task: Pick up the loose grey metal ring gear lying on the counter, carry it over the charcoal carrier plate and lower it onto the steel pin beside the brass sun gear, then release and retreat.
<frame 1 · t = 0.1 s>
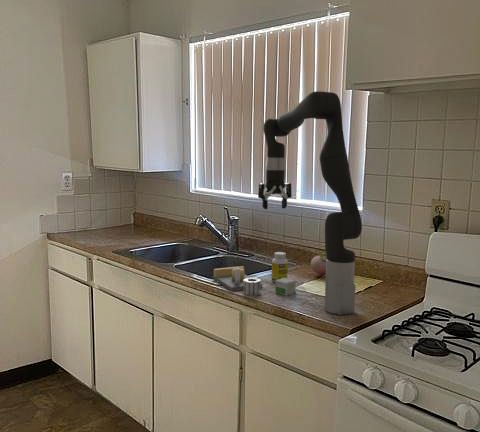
hand: (274, 208, 201), 29 cm above the worktop, fingers open, 8 cm apart
carrier: (237, 283, 196), on the worktop
small box: (285, 293, 185), on the worktop
pill bottle: (279, 281, 201), on the worktop
planet gear: (251, 293, 183), on the worktop
decorative fruit: (320, 276, 209), on the worktop
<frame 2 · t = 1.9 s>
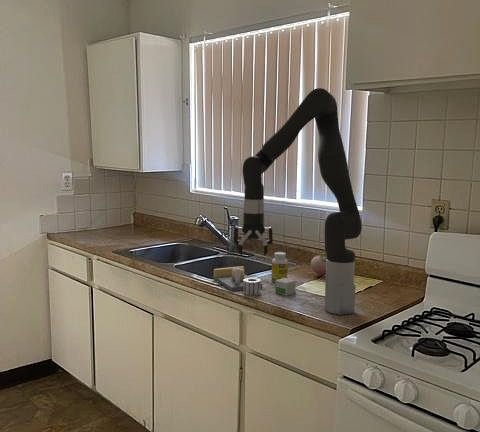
hand: (252, 254, 182), 15 cm above the worktop, fingers open, 8 cm apart
nothing on the worktop moved.
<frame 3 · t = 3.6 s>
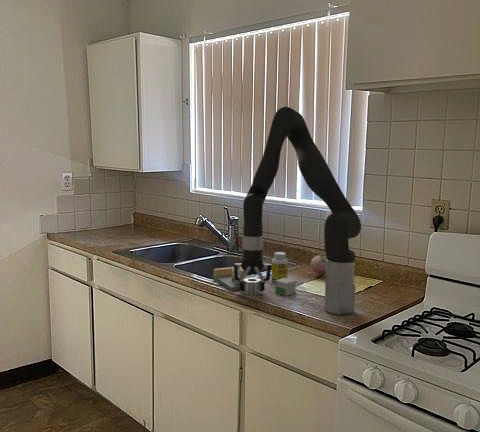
hand: (251, 291, 183), 1 cm above the worktop, fingers closed on planet gear, 6 cm apart
planet gear: (251, 293, 183), on the worktop, touching gripper
everything else where it was.
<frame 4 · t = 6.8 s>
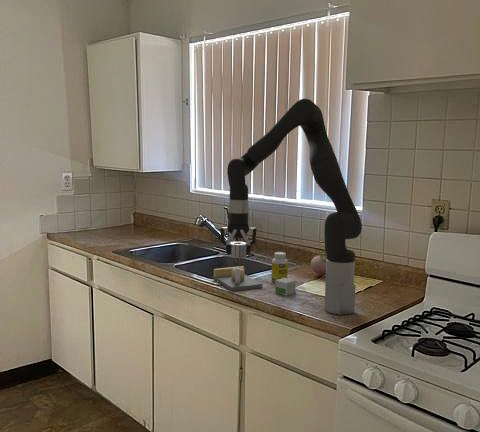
hand: (238, 254, 189), 13 cm above the worktop, fingers closed on planet gear, 6 cm apart
planet gear: (238, 256, 189), point 12 cm above the worktop, touching gripper
everything else where it was.
when the fingers open (3 cm above the worktop, at t = 9.5 s): planet gear stays where it is, resting on carrier.
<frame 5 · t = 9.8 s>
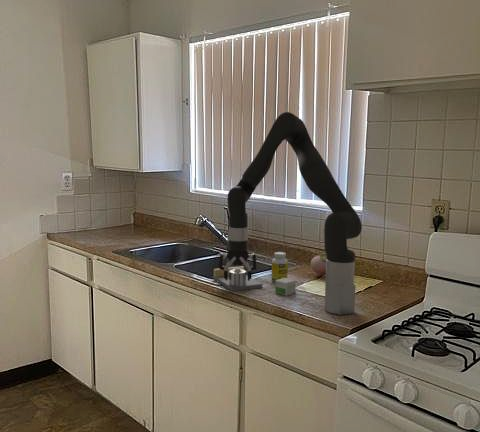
hand: (237, 280, 190), 3 cm above the worktop, fingers open, 8 cm apart
planet gear: (237, 284, 190), point 1 cm above the worktop, touching carrier
everything else where it was.
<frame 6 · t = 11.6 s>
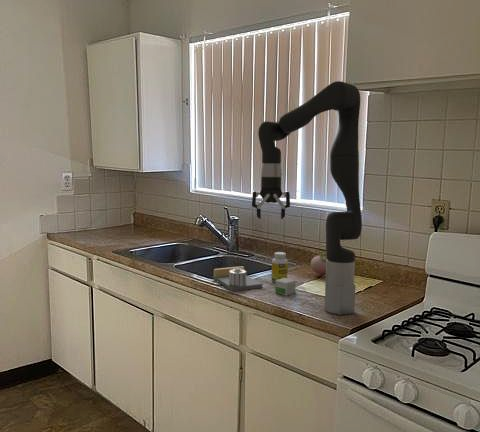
hand: (270, 218, 186), 27 cm above the worktop, fingers open, 8 cm apart
nothing on the worktop moved.
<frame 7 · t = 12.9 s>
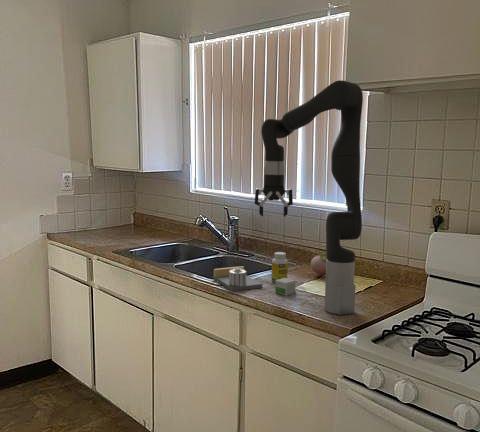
hand: (273, 216, 187), 28 cm above the worktop, fingers open, 8 cm apart
nothing on the worktop moved.
at the end: planet gear 0.1 cm from the target spot on the carrier, point 1.5 cm above the carrier's base; planet gear tilted 0°; the gripper is holding nothing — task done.
